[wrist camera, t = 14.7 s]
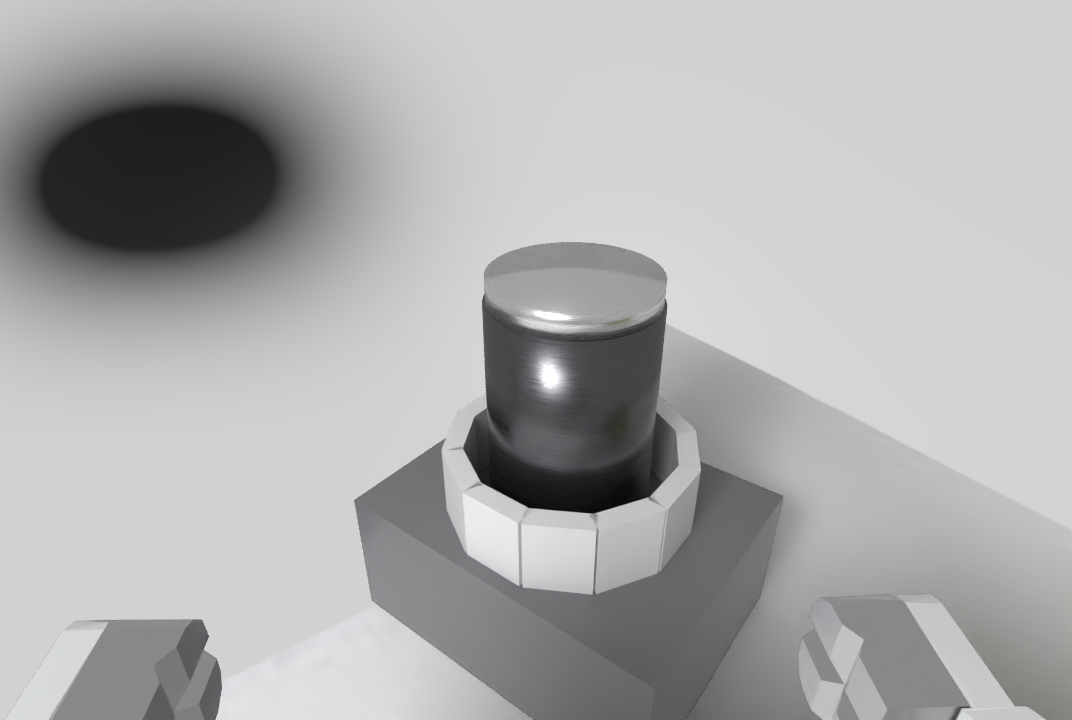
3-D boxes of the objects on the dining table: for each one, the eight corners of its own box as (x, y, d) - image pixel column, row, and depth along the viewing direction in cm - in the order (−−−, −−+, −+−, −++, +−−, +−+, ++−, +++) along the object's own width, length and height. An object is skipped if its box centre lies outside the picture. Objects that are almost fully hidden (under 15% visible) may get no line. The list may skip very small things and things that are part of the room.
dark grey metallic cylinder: (458, 508, 28) (441, 280, 23) (551, 434, 32) (554, 230, 27) (590, 583, 24) (604, 333, 19) (674, 489, 29) (702, 266, 24)
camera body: (371, 600, 31) (344, 441, 27) (521, 476, 39) (519, 336, 34) (639, 796, 24) (663, 622, 19) (759, 596, 31) (797, 437, 27)
